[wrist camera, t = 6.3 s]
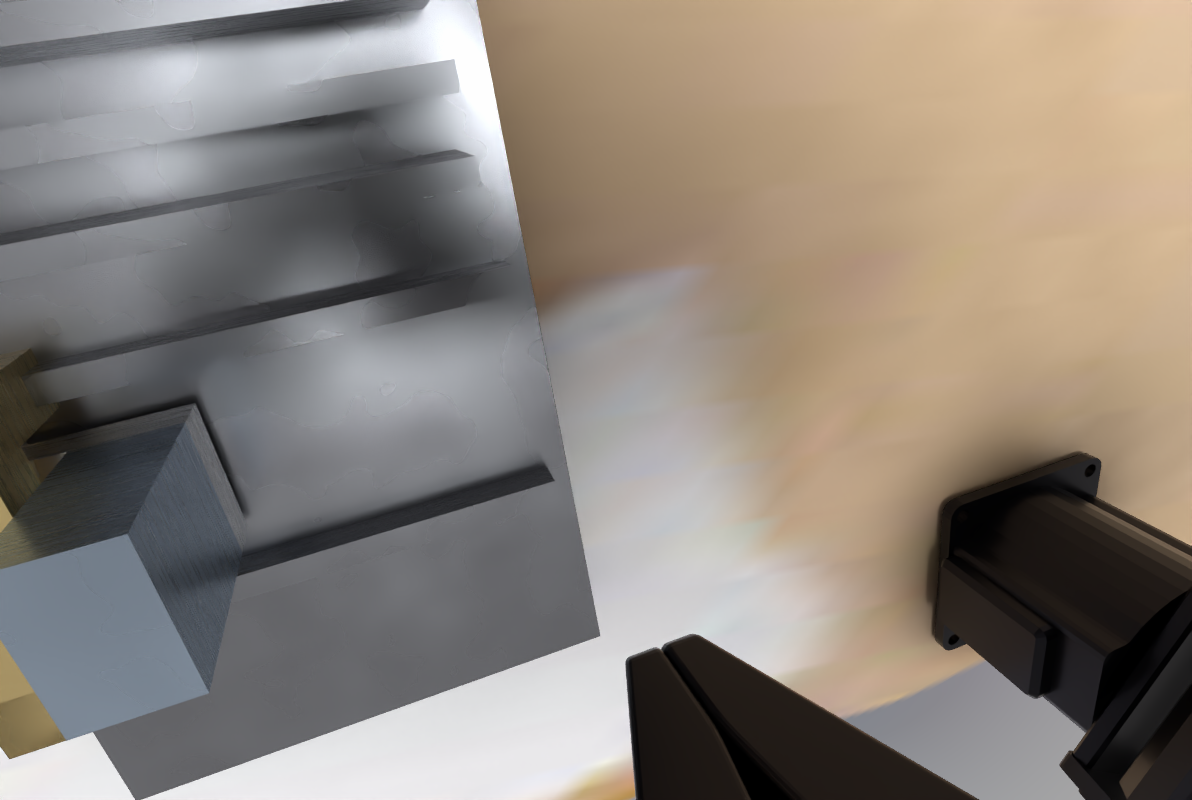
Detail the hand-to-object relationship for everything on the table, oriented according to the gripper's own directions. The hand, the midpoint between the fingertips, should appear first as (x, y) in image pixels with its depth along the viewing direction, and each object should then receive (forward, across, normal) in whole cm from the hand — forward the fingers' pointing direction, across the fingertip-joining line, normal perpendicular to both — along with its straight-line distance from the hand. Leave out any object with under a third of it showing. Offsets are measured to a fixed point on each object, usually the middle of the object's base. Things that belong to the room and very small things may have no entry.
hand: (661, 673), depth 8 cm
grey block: (+9, +9, 0) cm, 13 cm away
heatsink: (+11, +5, -1) cm, 12 cm away
